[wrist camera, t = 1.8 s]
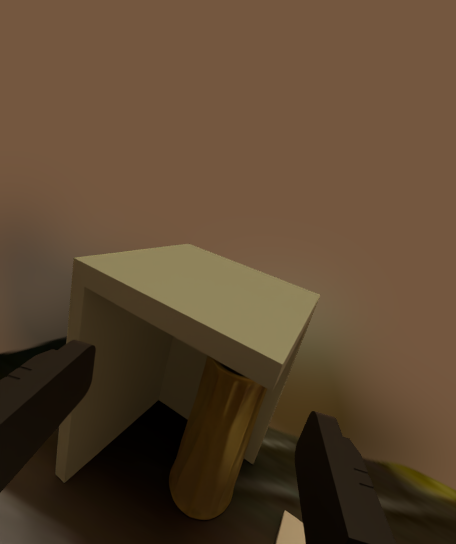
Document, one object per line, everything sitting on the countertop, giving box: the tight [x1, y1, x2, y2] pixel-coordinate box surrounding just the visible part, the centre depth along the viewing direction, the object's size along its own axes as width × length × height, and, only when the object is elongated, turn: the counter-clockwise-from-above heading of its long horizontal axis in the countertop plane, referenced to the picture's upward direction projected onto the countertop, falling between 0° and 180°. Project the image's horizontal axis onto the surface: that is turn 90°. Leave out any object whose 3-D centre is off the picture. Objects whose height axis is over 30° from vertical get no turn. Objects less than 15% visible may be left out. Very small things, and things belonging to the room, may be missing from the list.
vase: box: [169, 355, 267, 520], centre depth 23 cm, size 6×6×14 cm
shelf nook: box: [55, 244, 320, 483], centre depth 23 cm, size 14×13×20 cm
